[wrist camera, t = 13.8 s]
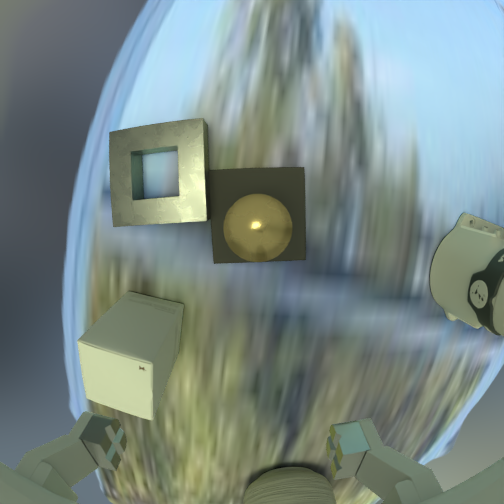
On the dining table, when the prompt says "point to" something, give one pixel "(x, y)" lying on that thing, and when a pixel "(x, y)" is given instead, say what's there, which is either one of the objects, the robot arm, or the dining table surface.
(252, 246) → the knob
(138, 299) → the supplement box
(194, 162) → the housing
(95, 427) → the robot arm
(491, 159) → the dining table surface
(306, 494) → the vase
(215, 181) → the mat
